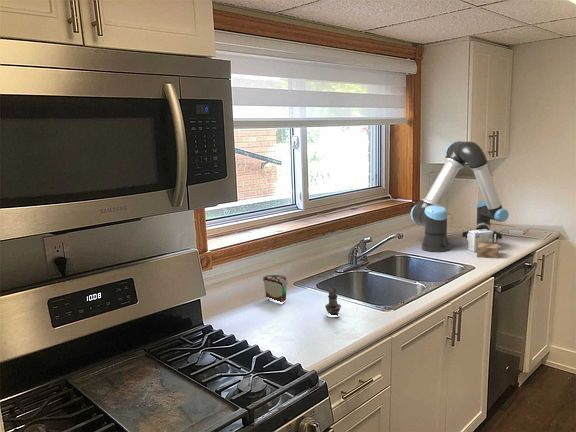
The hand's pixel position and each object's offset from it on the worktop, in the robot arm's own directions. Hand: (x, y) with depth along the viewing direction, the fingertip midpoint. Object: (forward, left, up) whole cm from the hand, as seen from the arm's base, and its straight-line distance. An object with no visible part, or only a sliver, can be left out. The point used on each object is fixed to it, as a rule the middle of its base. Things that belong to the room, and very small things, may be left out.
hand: (481, 238), depth 252 cm
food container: (-72, -103, -7) cm, 126 cm away
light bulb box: (-1, 0, -7) cm, 7 cm away
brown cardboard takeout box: (+4, -10, -6) cm, 12 cm away
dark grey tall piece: (-46, -111, -7) cm, 120 cm away
